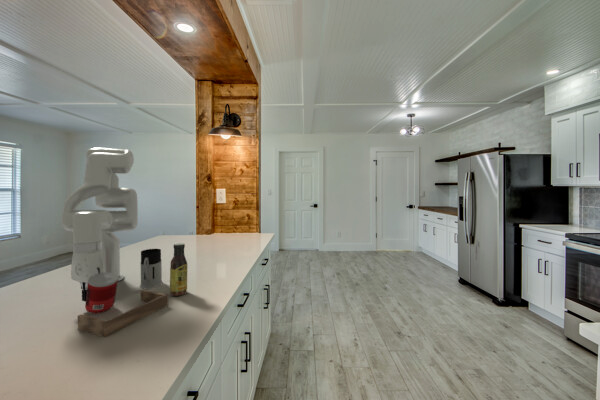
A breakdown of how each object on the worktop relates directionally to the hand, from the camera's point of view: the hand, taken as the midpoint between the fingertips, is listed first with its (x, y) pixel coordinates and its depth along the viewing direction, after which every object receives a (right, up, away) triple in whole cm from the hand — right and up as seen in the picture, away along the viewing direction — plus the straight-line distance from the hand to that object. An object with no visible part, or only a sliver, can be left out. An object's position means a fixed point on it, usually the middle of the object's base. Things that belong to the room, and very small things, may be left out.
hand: (88, 299), depth 87 cm
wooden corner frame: (+16, -3, -5) cm, 17 cm away
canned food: (+4, -2, -1) cm, 5 cm away
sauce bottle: (+25, -3, +13) cm, 28 cm away
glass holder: (+9, -3, +20) cm, 22 cm away
